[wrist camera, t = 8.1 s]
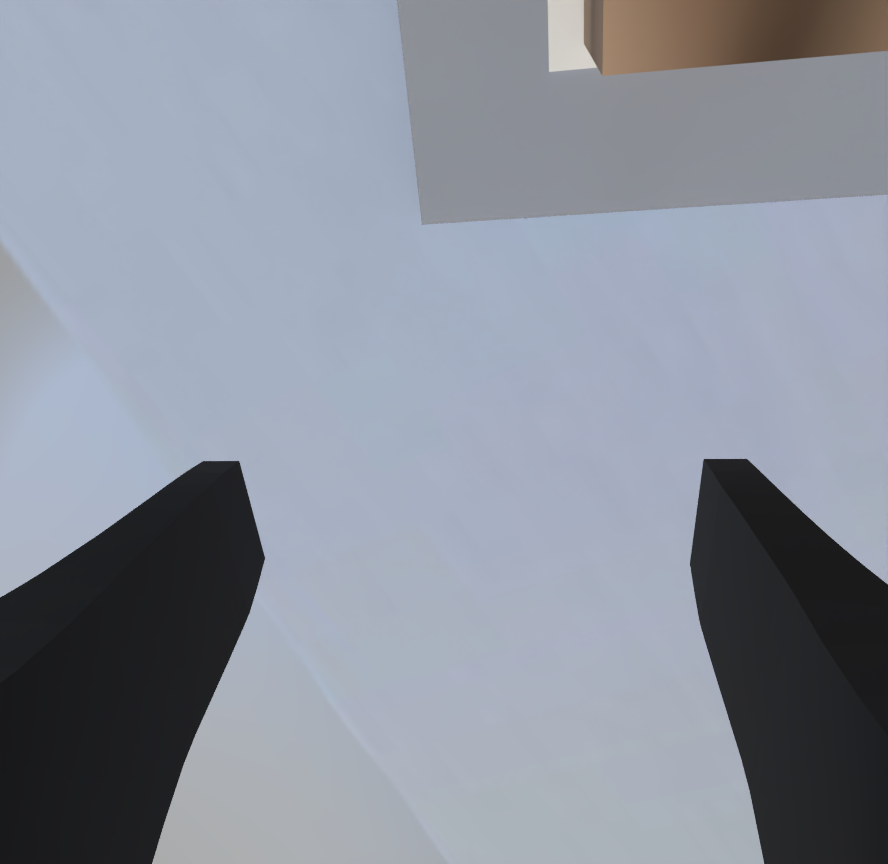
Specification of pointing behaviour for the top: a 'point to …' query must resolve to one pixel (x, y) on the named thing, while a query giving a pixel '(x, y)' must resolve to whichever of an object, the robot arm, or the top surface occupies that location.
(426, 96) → the slate base
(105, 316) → the top surface
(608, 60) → the walnut block
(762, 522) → the robot arm
